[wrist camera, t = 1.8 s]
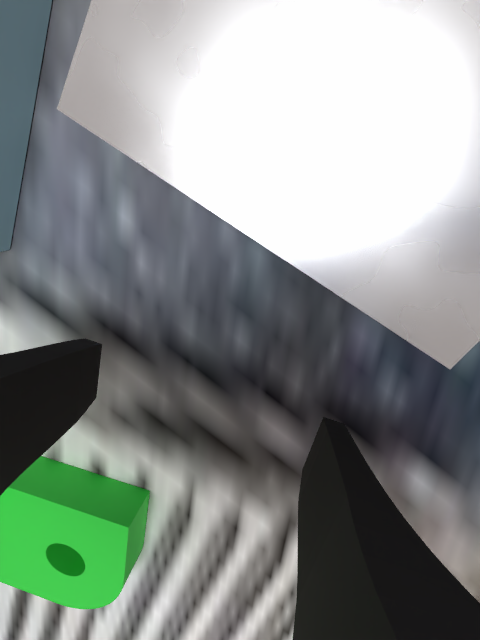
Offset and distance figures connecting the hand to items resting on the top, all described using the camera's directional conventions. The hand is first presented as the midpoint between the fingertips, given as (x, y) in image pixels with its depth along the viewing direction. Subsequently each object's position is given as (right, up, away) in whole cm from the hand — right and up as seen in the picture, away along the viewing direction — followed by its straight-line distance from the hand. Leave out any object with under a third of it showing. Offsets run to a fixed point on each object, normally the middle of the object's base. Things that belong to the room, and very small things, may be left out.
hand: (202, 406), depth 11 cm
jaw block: (+4, +8, -1) cm, 9 cm away
